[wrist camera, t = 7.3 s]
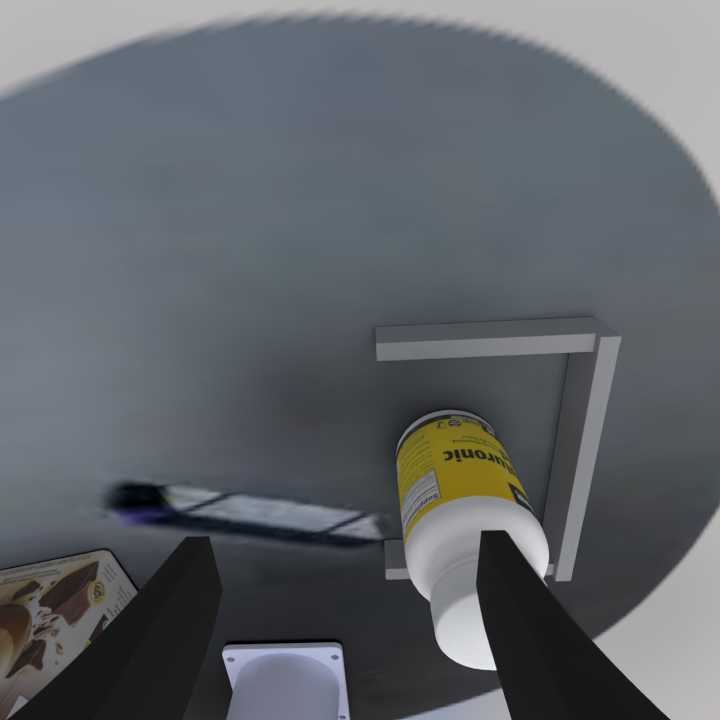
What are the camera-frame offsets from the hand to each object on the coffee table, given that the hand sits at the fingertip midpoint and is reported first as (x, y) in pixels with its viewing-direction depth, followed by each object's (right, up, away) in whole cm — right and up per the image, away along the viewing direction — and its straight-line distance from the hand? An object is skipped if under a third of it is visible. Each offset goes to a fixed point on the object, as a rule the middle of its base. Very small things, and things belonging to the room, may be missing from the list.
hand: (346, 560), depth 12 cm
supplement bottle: (+5, +1, +11) cm, 12 cm away
